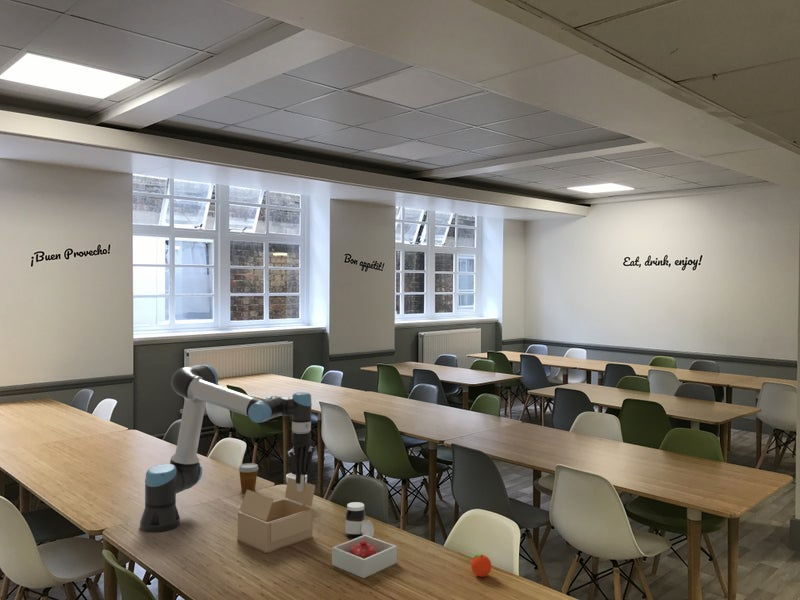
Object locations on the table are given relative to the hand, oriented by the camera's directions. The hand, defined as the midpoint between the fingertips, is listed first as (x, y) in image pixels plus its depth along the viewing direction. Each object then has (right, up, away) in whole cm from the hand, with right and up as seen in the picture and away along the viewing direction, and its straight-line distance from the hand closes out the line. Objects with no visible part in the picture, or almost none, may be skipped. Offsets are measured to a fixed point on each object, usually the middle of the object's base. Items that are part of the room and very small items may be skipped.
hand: (300, 491), depth 249 cm
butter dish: (+27, -17, -30) cm, 43 cm away
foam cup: (-7, -16, +33) cm, 38 cm away
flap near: (-14, -1, -14) cm, 20 cm away
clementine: (+67, -18, -37) cm, 78 cm away
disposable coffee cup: (-33, -16, +52) cm, 64 cm away
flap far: (-1, -1, +1) cm, 1 cm away
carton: (-8, -16, -8) cm, 20 cm away
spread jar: (+24, -17, -2) cm, 29 cm away
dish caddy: (+27, -17, -29) cm, 43 cm away
